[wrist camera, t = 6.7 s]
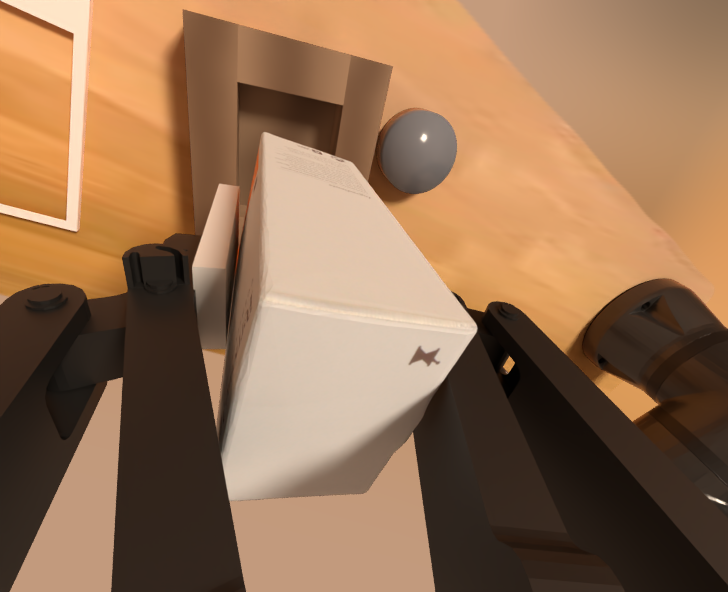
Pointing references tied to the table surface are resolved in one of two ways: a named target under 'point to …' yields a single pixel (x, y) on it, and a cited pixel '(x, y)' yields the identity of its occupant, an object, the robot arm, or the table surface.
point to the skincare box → (327, 332)
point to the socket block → (271, 104)
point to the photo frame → (73, 13)
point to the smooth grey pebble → (416, 150)
